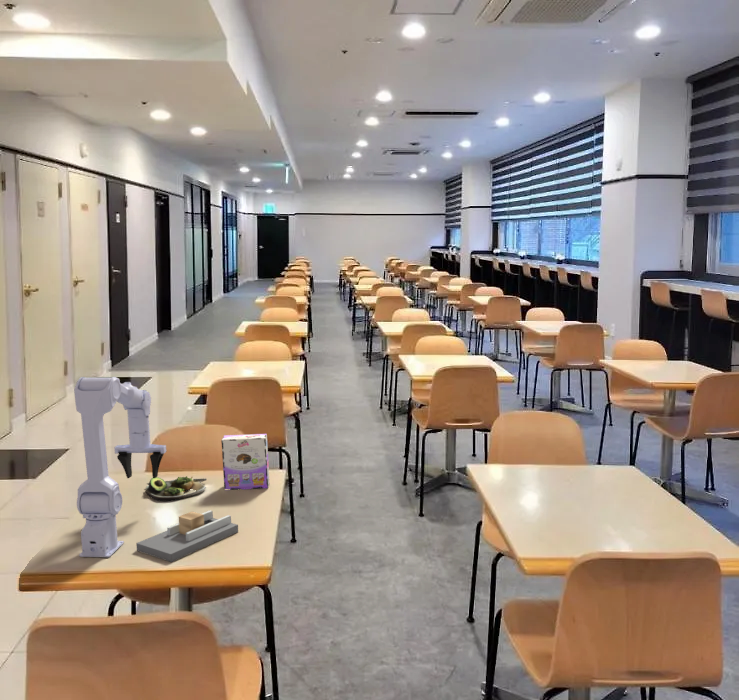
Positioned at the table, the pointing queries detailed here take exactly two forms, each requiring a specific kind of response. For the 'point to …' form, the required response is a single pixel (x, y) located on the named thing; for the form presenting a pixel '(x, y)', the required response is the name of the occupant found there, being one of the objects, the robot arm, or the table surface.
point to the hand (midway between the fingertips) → (142, 477)
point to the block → (190, 522)
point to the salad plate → (173, 488)
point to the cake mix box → (245, 461)
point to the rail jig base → (187, 538)
